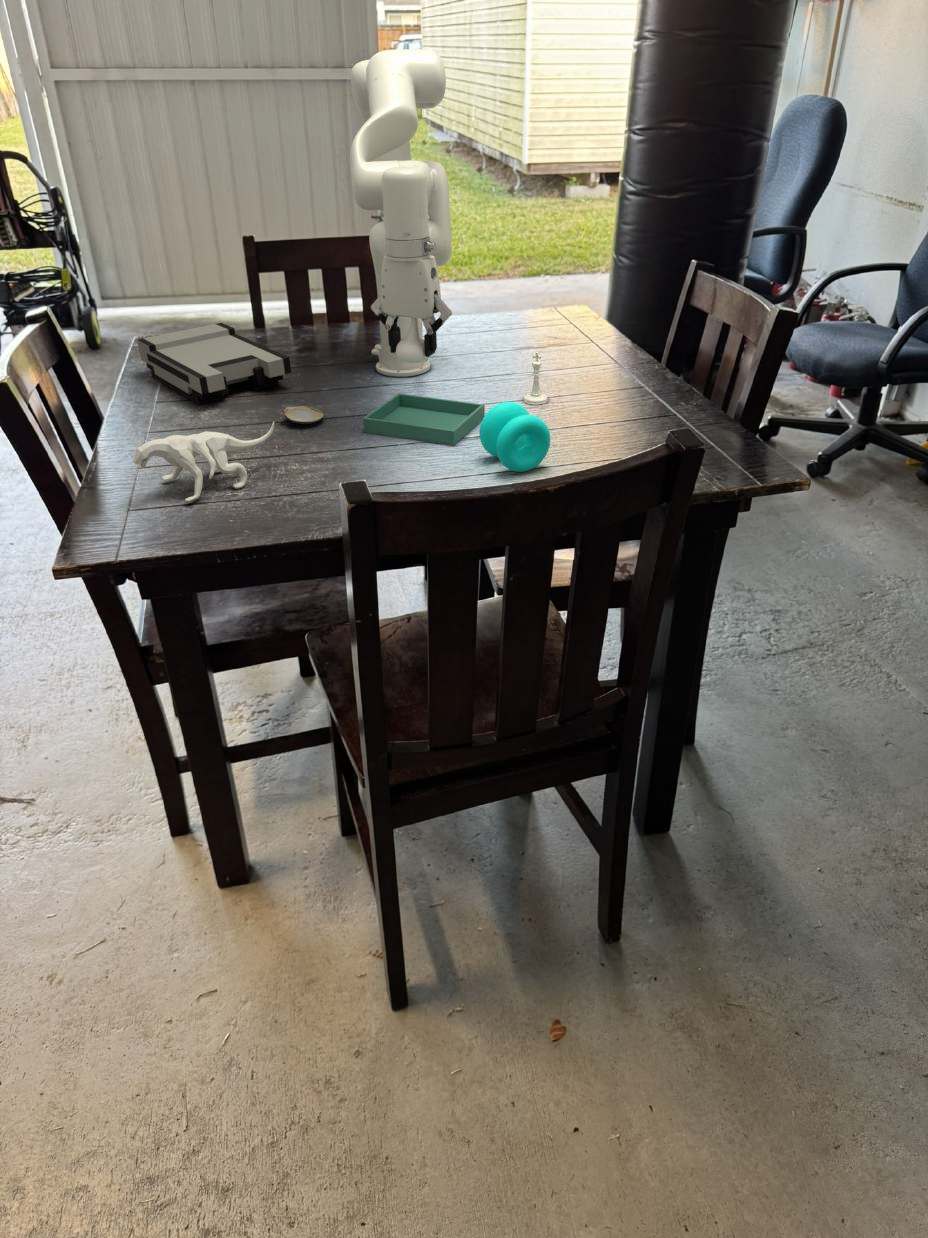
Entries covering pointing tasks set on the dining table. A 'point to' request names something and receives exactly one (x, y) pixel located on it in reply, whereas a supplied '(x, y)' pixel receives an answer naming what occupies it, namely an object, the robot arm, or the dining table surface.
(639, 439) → the dining table surface
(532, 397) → the chess piece
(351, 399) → the dining table surface
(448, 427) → the tray
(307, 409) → the seashell
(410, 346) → the garlic bulb
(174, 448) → the white animal figurine
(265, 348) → the game console
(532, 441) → the turquoise yo-yo
